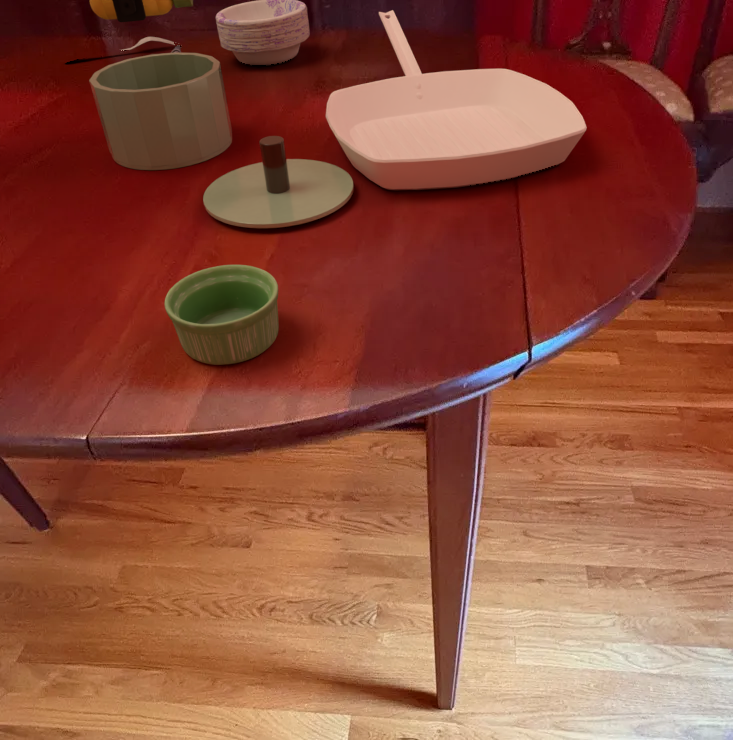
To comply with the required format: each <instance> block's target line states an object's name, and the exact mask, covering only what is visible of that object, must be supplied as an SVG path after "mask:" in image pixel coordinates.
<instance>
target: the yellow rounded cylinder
mask: <svg viewBox="0 0 733 740" xmlns="http://www.w3.org/2000/svg"><path fill="white" fill-rule="evenodd" d="M142 1H143V5H144V10H145V14H146V17H152V16H153V17H154V16H163V15H165V14H168V13H169V12H170V11H171V10H172V9H173V7H174V8H176V9H178V8H179V9H180V8H187V7H188V8H189V7H190V8H191V7H194V0H142ZM89 5H90V9H91V10H92V12H93V13H94V14H95V15H96V16H97V17H98V18H100V19H103V20H109V21H111V20H117V16H116V12H115V9H114V5H113V1H112V0H89Z"/></svg>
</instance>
